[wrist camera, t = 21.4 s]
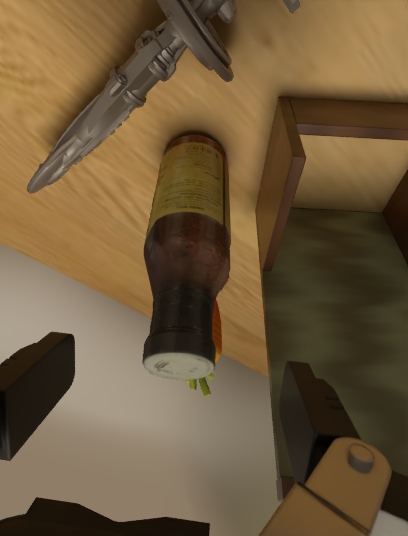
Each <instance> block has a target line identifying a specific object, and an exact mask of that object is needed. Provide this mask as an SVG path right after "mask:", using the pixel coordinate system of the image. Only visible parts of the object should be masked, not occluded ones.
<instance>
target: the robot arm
mask: <svg viewBox="0 0 408 536" xmlns="http://www.w3.org/2000/svg"><path fill="white" fill-rule="evenodd" d="M74 375H75V340H74V336H73V335H72V334H66V333H59V332H50V333H49V334H48V335H46V336H45V337H44V338H42V339H41V340H40V341H39V342H37V343H33V344H31V345H29V346H26V347H24V348H22V349H20V350H18V351H17V352H16V353H14V354H13V355H12V356H10V358H9V359H6V360H5V361H4V362H2V363H1V365H0V459H1V460H8V461H10V460H11V459H12V458H13V457H14V455H15V454H16V453H17V452H18V451H19V449H20V448H21V447H22V446H23V445H24V443H25V442H26V441H27V440H28V438H29V437H30V436H31V435H32V434H33V432H34V431H35V430H36V429H37V427H38V426H39V425H40V424H41V422H42V421H43V420H44V419H45V418H46V416H47V415H48V414H49V413H50V411H51V410H52V409H53V408H54V407H55V405H56V404H57V403H58V402H59V400H60V399H61V398H62V397H63V395H64V394H65V393H66V392H67V391H68V389H69V388H70V386H71V385H72V382H73V379H74ZM279 414H280V419H281V424H282V428H283V432H284V437H285V441H286V446H287V450H288V454H289V459H290V463H291V468H292V472H293V476H294V481H295V484H294V486H293V487H292V488H291V490H290V491H289V493H288V494H287V496H286V497H285V498H284V500H283V501H282V503H281V504H280V506H279V507H278V508H277V510H276V511H275V513H274V514H273V516H272V517H271V519H270V520H269V521H268V523H267V524H266V526H265V527H264V528H263V530H262V531H261V533H260V534H259V536H408V477H407V476H405V475H402V474H400V473H397V472H395V471H393V470H392V469H391V466H390V464H389V462H388V460H387V459H386V458H385V456H384V455H383V454H382V453H381V452H380V451H379V450H377V449H376V448H375V447H373V446H372V445H370V444H369V443H367V442H365V441H362V440H361V438H360V436H359V434H358V432H357V430H356V429H355V427H354V425H353V423H352V421H351V419H350V417H349V415H348V414H347V412H346V410H345V408H344V406H343V404H342V402H341V401H340V399H339V397H338V395H337V393H336V391H335V389H334V388H333V387H332V386H331V385H329V384H328V383H327V382H326V381H325V380H324V379H320V378H316V377H315V375H314V373H313V371H312V369H311V367H310V365H309V363H304V362H296V361H287V362H286V364H285V369H284V375H283V381H282V387H281V393H280V399H279ZM209 527H210V523H203V522H197V521H190V520H183V519H177V518H169V517H161V518H153V519H144V520H136V521H127V522H116V521H113V520H111V519H109V518H107V517H104V516H103V515H100V514H98V513H96V512H94V511H92V510H90V509H88V508H86V507H84V506H82V505H80V504H77V503H71V502H64V501H57V500H51V499H44V498H38V497H36V499H35V500H34V502H33V503H32V505H31V506H30V508H29V510H28V511H27V513H26V514H23V515H17V516H13V517H9V518H6V519H3V520H0V536H209V529H210V528H209Z"/></svg>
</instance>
